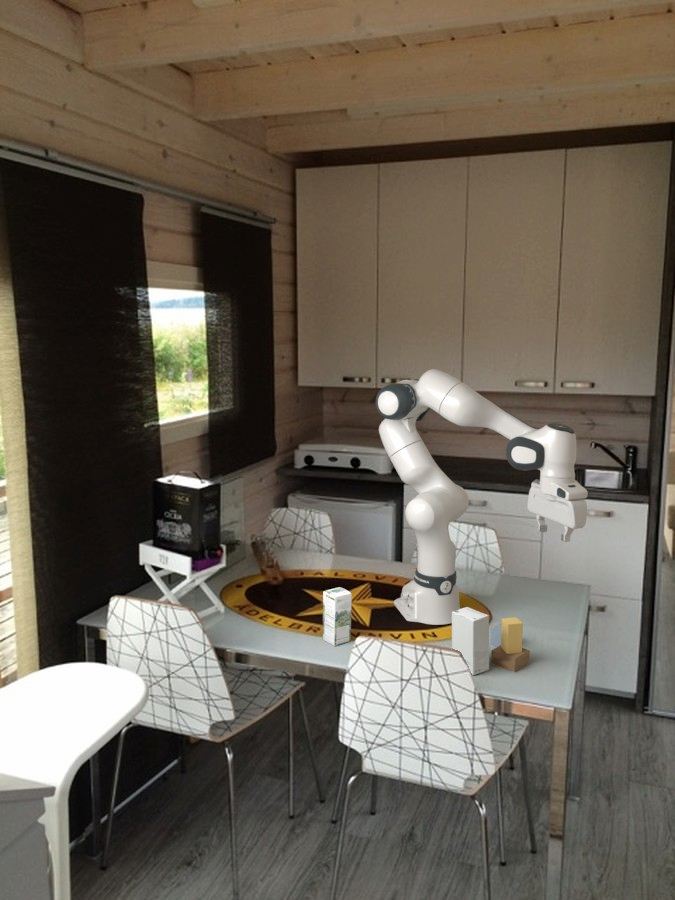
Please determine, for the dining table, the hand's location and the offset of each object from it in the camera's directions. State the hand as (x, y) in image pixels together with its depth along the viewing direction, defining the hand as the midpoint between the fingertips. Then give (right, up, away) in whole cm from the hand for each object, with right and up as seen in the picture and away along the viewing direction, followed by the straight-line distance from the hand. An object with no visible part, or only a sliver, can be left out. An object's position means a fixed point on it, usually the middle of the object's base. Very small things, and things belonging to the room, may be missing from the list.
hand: (553, 536), depth 214 cm
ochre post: (-13, -29, -6) cm, 32 cm away
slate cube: (-12, -31, +6) cm, 33 cm away
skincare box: (-24, -33, -7) cm, 41 cm away
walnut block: (-13, -33, -5) cm, 36 cm away
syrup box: (-58, -30, +8) cm, 66 cm away
